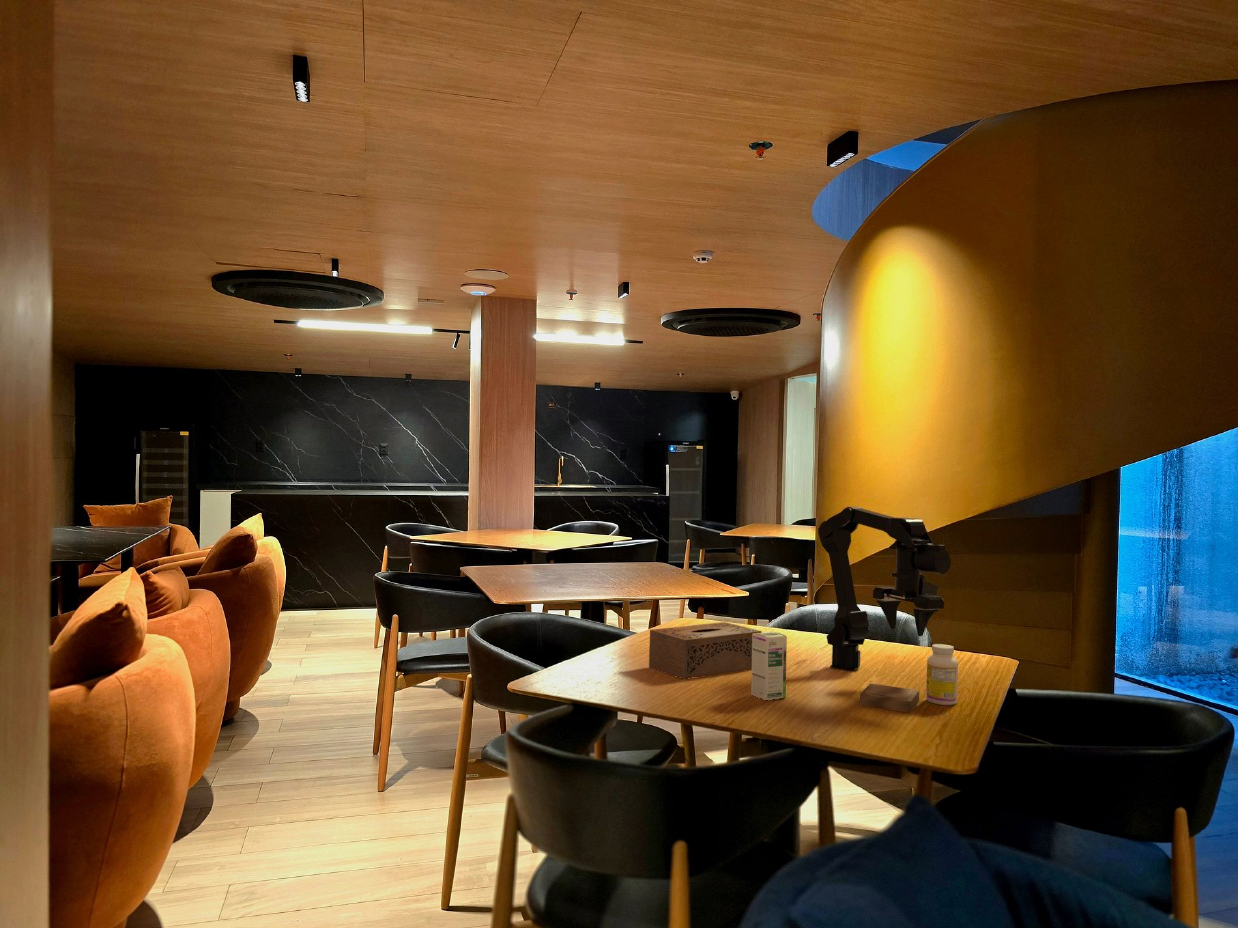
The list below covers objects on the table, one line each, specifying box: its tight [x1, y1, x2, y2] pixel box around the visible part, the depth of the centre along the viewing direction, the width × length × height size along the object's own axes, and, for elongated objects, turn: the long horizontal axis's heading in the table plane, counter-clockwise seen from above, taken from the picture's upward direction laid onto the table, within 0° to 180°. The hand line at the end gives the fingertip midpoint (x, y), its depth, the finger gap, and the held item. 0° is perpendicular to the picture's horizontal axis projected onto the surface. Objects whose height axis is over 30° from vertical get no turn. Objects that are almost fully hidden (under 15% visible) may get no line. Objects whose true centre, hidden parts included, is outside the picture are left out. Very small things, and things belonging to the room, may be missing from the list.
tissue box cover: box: [648, 621, 763, 680], centre depth 221 cm, size 26×14×10 cm, turn 125°
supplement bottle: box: [925, 643, 959, 706], centre depth 194 cm, size 7×7×13 cm
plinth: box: [859, 682, 920, 714], centre depth 192 cm, size 11×11×3 cm
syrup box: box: [750, 631, 788, 701], centre depth 194 cm, size 6×6×14 cm
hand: (906, 632), depth 209 cm, fingers open, 9 cm apart
